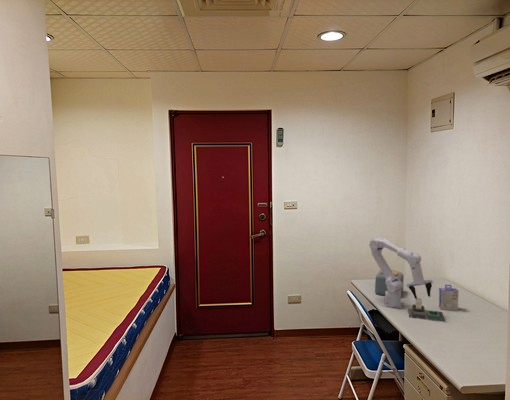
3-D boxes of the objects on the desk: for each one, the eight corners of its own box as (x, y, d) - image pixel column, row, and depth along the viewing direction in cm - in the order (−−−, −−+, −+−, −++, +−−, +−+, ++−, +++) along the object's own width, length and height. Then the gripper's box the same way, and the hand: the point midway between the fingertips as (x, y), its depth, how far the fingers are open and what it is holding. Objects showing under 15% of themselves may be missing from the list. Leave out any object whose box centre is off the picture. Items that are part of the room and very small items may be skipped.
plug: (416, 310, 211) (416, 300, 210) (415, 307, 215) (415, 298, 214) (421, 311, 210) (421, 301, 209) (420, 308, 214) (421, 298, 213)
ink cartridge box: (455, 307, 222) (456, 284, 221) (458, 310, 217) (459, 287, 215) (438, 306, 224) (439, 283, 223) (440, 309, 219) (441, 286, 217)
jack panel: (408, 317, 208) (409, 310, 208) (407, 308, 221) (407, 302, 220) (445, 321, 202) (445, 314, 201) (442, 312, 214) (442, 306, 214)
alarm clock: (403, 291, 250) (404, 269, 249) (399, 299, 237) (399, 275, 235) (379, 287, 259) (380, 266, 258) (374, 294, 245) (374, 272, 244)
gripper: (407, 277, 210) (412, 300, 208) (432, 273, 208) (437, 296, 207) (403, 275, 217) (408, 298, 215) (428, 271, 215) (433, 294, 214)
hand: (422, 297), depth 212 cm, fingers open, 7 cm apart
